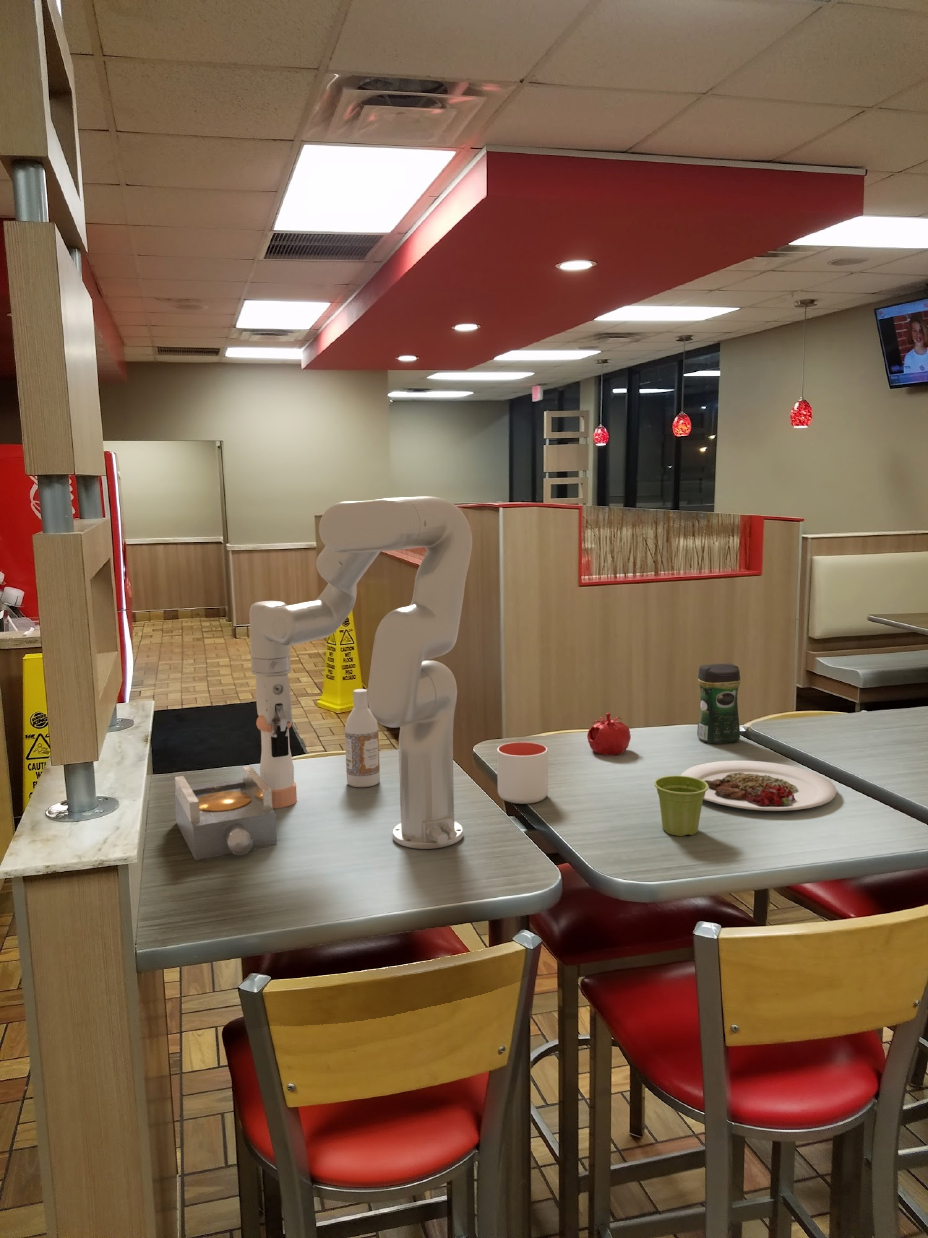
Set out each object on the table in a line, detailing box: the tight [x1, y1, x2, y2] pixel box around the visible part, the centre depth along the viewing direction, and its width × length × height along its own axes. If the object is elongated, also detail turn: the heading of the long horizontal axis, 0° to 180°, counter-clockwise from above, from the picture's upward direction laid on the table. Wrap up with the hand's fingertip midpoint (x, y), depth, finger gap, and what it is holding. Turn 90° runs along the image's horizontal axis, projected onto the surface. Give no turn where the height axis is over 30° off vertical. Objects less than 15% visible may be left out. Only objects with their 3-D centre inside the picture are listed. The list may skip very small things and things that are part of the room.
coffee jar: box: [696, 662, 741, 744], centre depth 221 cm, size 10×8×19 cm
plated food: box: [679, 760, 837, 812], centre depth 186 cm, size 30×30×3 cm
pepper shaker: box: [255, 711, 298, 809], centre depth 184 cm, size 7×7×19 cm
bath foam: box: [344, 688, 381, 788], centre depth 194 cm, size 7×7×20 cm
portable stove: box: [174, 765, 278, 861], centre depth 166 cm, size 24×14×10 cm, turn 26°
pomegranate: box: [586, 712, 632, 756], centre depth 215 cm, size 10×10×9 cm
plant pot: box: [653, 775, 708, 837], centre depth 165 cm, size 9×9×9 cm
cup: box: [496, 741, 549, 805], centre depth 184 cm, size 10×10×10 cm
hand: (273, 749), depth 184 cm, fingers open, 9 cm apart
